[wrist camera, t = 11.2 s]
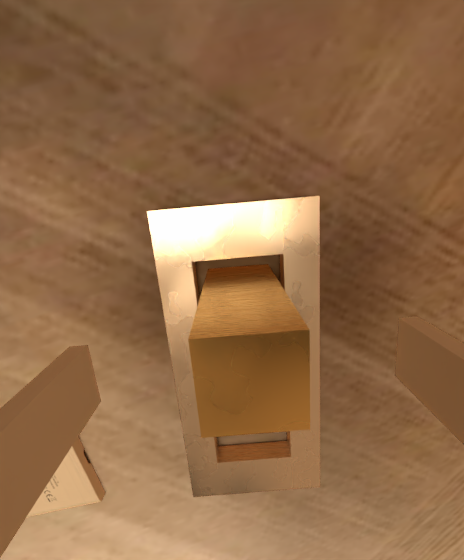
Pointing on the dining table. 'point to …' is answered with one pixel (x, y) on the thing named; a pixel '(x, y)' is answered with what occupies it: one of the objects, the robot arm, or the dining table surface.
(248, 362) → the brass peg
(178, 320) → the rail plate
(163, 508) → the dining table surface
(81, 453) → the external hard drive
